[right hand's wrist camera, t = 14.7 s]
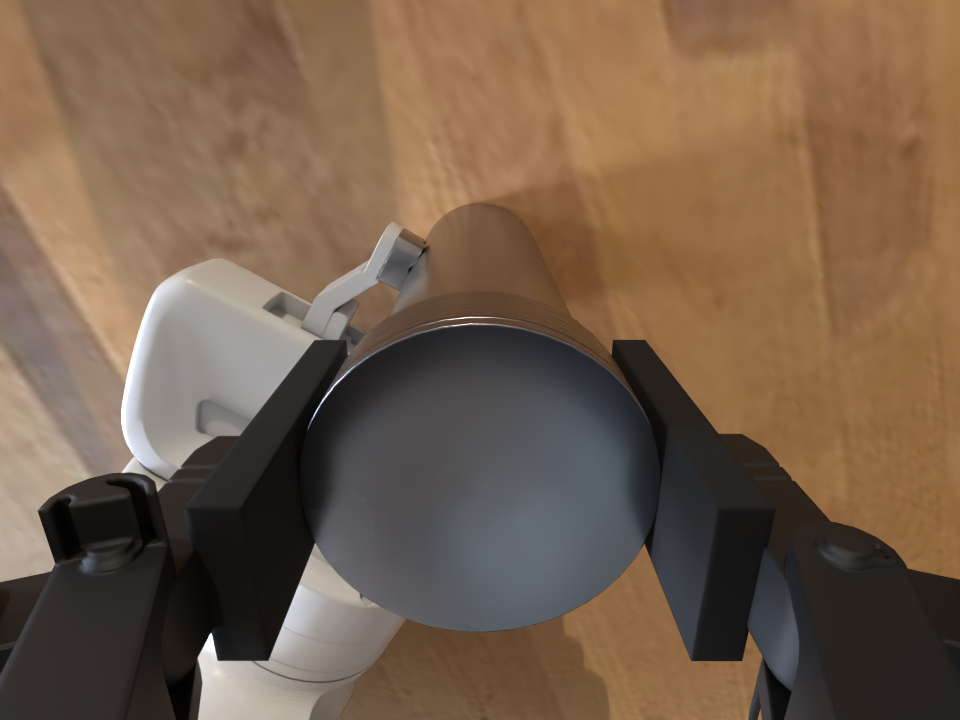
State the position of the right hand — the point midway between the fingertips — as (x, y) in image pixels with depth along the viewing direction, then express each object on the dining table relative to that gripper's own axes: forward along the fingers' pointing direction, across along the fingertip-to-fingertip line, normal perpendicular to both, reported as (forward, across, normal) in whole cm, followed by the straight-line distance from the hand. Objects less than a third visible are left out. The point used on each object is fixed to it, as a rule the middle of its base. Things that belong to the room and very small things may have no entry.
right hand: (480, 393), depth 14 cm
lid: (-4, 0, 0) cm, 4 cm away
